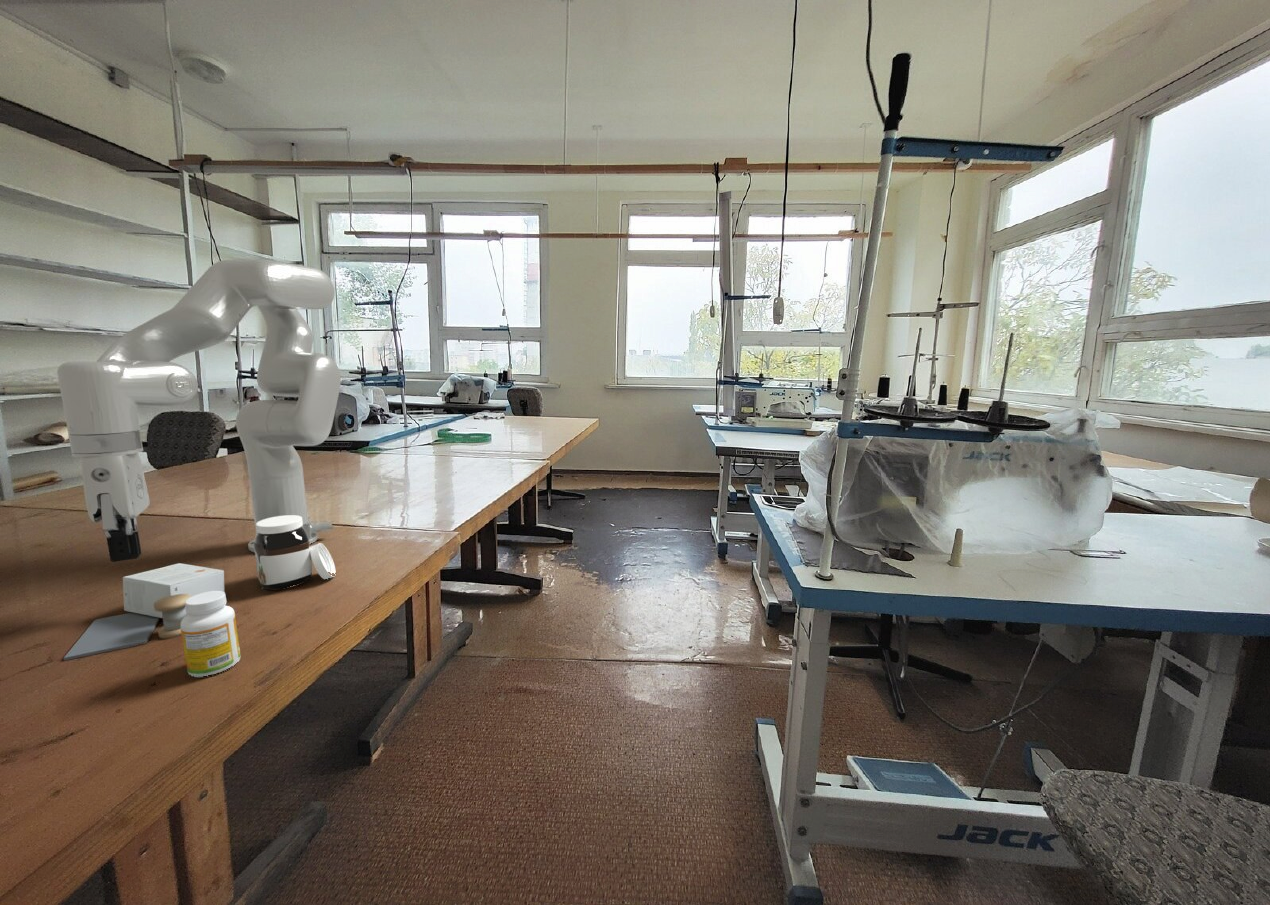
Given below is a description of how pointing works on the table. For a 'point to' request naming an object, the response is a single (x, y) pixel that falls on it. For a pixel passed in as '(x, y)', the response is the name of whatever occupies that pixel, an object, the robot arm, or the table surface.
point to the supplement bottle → (209, 634)
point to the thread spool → (171, 614)
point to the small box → (168, 585)
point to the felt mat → (114, 634)
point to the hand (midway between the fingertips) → (126, 558)
